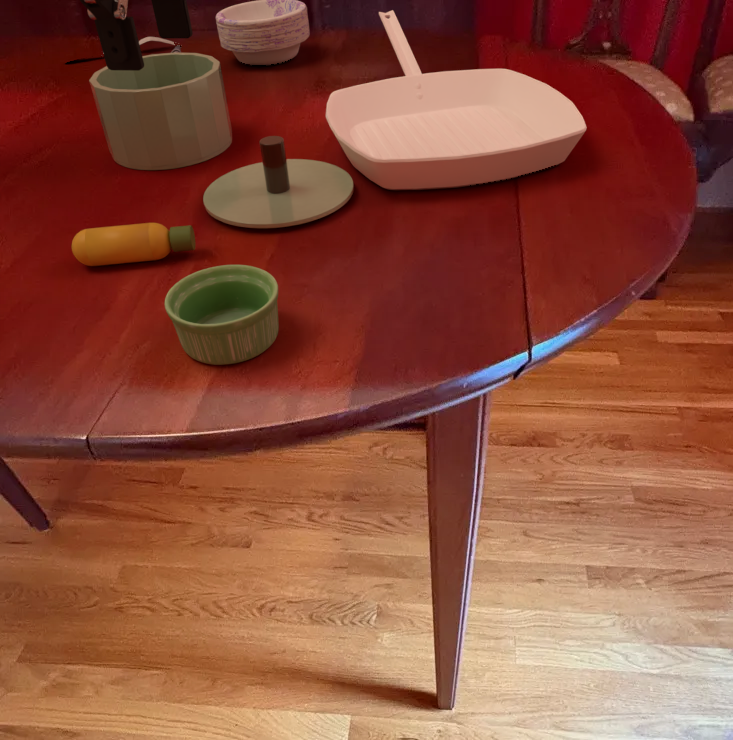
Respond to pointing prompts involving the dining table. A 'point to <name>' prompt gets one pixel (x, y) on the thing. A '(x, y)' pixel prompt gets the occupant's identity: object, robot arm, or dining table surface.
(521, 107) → the pan
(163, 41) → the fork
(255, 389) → the dining table surface
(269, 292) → the ramekin
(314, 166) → the lid
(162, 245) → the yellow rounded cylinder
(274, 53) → the paper bowls
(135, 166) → the pot
